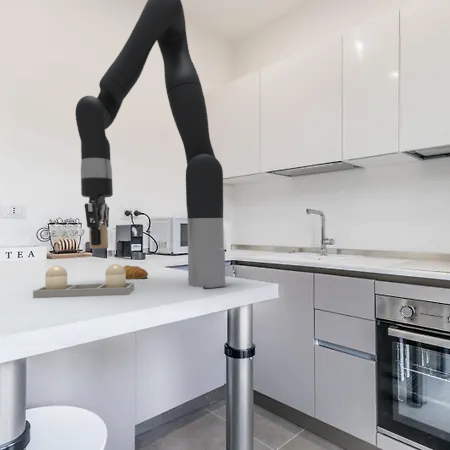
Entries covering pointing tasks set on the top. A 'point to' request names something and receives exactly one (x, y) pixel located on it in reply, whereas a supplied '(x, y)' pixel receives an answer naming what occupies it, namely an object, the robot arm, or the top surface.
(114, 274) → the egg
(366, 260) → the top surface
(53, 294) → the carton
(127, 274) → the pastry
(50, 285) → the egg
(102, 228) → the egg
